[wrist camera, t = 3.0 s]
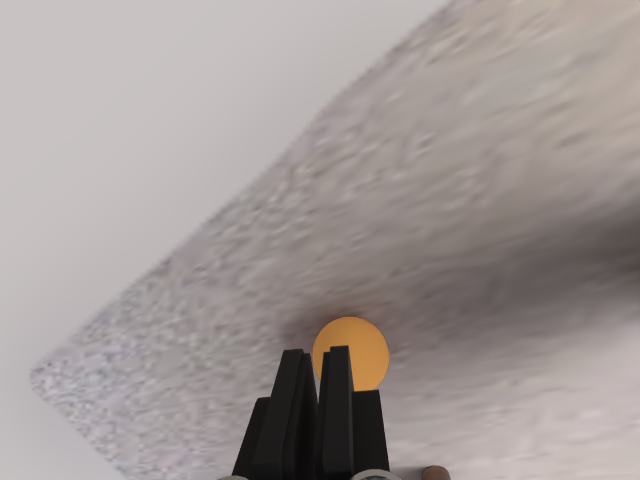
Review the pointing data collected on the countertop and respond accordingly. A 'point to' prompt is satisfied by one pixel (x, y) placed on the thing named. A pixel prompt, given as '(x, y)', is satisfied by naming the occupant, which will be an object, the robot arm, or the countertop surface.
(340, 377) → the robot arm
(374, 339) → the ball
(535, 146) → the countertop surface
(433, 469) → the post
